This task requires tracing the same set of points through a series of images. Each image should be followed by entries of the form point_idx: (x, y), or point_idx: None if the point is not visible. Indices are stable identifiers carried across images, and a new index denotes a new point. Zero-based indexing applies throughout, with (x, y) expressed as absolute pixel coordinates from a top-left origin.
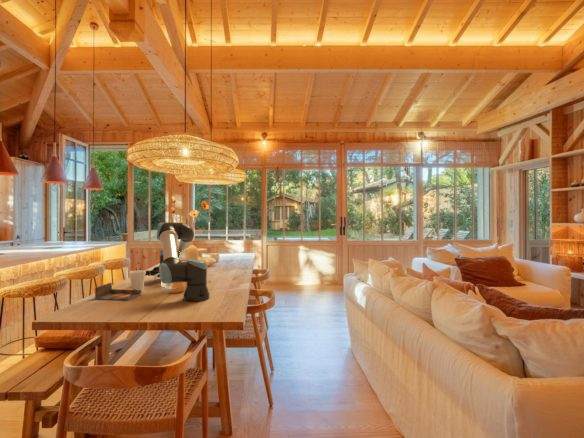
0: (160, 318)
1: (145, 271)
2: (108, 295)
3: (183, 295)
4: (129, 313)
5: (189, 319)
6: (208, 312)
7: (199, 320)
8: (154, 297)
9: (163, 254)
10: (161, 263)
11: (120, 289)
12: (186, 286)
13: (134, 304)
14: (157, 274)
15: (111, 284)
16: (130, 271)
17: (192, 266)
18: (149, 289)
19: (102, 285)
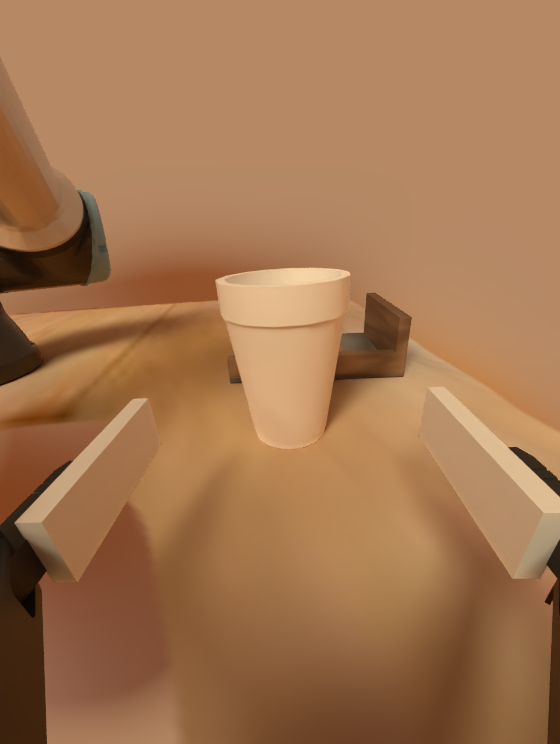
0: (137, 309)
1: (218, 286)
2: (359, 349)
3: (34, 350)
4: (202, 311)
5: (84, 312)
6: (27, 326)
7: (68, 312)
8: (157, 368)
9: (30, 122)
10: (85, 192)
11: (343, 354)
12: (3, 316)
13: (212, 331)
14: (93, 447)
15: (397, 325)
16: (342, 271)
17: None
18: (220, 476)
19: (385, 301)
